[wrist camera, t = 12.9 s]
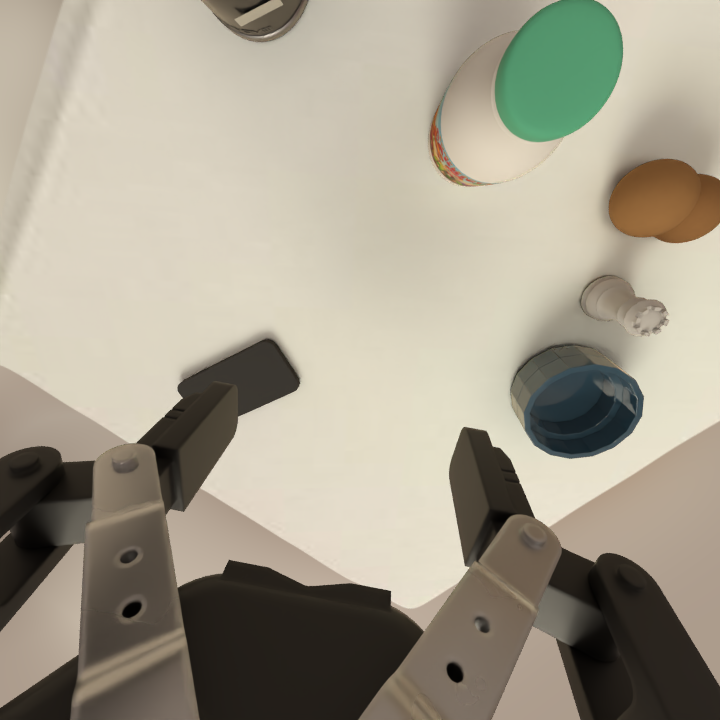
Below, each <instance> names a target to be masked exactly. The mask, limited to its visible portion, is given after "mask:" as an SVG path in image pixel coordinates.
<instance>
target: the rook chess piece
mask: <svg viewBox="0 0 720 720" xmlns="http://www.w3.org/2000/svg"><path fill="white" fill-rule="evenodd" d="M581 304H582V309H583V311H584V312H585V313H586V315H588V316H590V317H592V318H594V319H596V320H600V321H611V320H616V321H618V322H619V324H620V325H622V326H624V328H625V329H626V331H627V332H628V333H630V334H632V335H633V336H649V335H650V334H651V333H654V334H658V333H659V332H661V330H660V329H659V328H660V327H661V326H662V325H665V326H667V324H668V322H669V320H667V319H665V318H666V316H668V315H669V314H668V312H667V311H666V308H665V306H664V305H663V303H661V302H659V301H657V300H649V299H648V300H647V299H645V298H639V297H636V296H635V294H634V290H633V289H632V287H631V285H630V284H629V283H628V282H626V281H624V280H622V279H620V278H619V277H615V276H606V277H603V278H599V279H597V280H596V281H594V282H593V283H591V284H590V285H589V286H588V287H587V289H586V290H585V291H584V293H583V296H582V299H581Z"/></svg>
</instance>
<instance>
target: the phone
mask: <svg viewBox="0 0 720 720" xmlns="http://www.w3.org/2000/svg"><path fill="white" fill-rule="evenodd" d="M214 381H217V382H222V383H228V384H233V385H236V386H237V389H238V416H241V415H243V414H245V413H247V412H250V411H252V410H254V409H256V408H258V407H261V406H263V405H265V404H267V403H270V402H272V401H274V400H276V399H279V398H281V397H283V396H285V395H288V394H290V393H292V392H294V391H296V390H297V388H298V387H299V384H300V382H299V379H298V377H297V375H296V374H295V372H294V371H293V369H292V368H291V366H290V365H289V363H288V361H287V360H286V358H285V357H284V355H283V354H282V352H281V351H280V349H279V348H278V346H277V345H276V344H275V343H274V342H273V341H271V340H263V341H261V342H259V343H257V344H255V345H253V346H251V347H249V348H247V349H245V350H243V351H241V352H239V353H237V354H235V355H233V356H231V357H229V358H227V359H225V360H223V361H221V362H219V363H217V364H215V365H213V366H211V367H209V368H207V369H205V370H203V371H201V372H199V373H197V374H195V375H193V376H191V377H189V378H187V379H185V380H184V381H182V382H181V383H180V384H179V385H178V392H179V394H180V395H181V396H182V397H183V398H185V397H187V396H189V395H191V394H193V393H195V392H198V393H202V392H203V391H204V390H205V389H206V388H207V387H208V386H209V385H210V384H211V383H212V382H214Z"/></svg>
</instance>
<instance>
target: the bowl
mask: <svg viewBox="0 0 720 720" xmlns="http://www.w3.org/2000/svg"><path fill="white" fill-rule="evenodd" d="M643 400H644V396H643V394H642V392H641V390H640V388H639V386H638V384H637V382H636V380H635V379H634V378H632V377H631V376H630V375H629V374H627V373H626V372H625V371H624V370H622V369H621V368H620V367H619V366H617V365H616V364H615V363H613V362H612V361H611V360H610V359H608V358H607V357H605V356H604V355H602V354H601V353H599V352H598V351H597V350H595V349H593V348H588V347H582V346H577V345H569V346H563V347H557V348H552V349H549V350H547V351H545V352H543V353H541V354H539V355H538V356H536V357H534V358H532V359H530V361H529V362H528V363H527V364H526V365H525V366H524V367H523V368H522V369H521V370H520V371H519V372H518V373H517V375H516V378H515V380H514V383H513V385H512V388H511V401H512V408H513V409H514V411H515V413H516V415H517V417H518V419H519V421H520V423H521V425H522V426H523V428H524V430H525V432H526V433H527V435H528V437H529V438H530V440H531V441H532V443H533V444H534V445H535V446H536V447H538V448H540V449H541V450H543V451H545V452H546V453H548V454H550V455H553V456H559V457H564V458H569V459H570V458H571V459H572V458H581V457H590V456H594V455H597V454H599V453H602V452H604V451H607V450H609V449H612V448H614V447H615V446H616V445H618V444H619V443H620V442H621V441H623V440H624V439H625V438H626V437H628V436H629V435H630V434H631V433H632V432H633V430H634V429H635V427H636V425H637V424H638V422H639V420H640V419H641V417H642V412H643Z"/></svg>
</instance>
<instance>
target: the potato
mask: <svg viewBox="0 0 720 720" xmlns="http://www.w3.org/2000/svg"><path fill="white" fill-rule="evenodd" d="M609 216H610V219H611V221H612V223H613V224H614V225H615V227H616V228H617V229H618V230H620V231H621V232H623V233H625V234H627V235H630V236H634V237H651V236H654V237H655V238H657V239H659V240H661V241H664V242H669V243H683V242H688V241H692V240H695V239H698V238H700V237H702V236H704V235H706V234H707V233H709V232H710V231H712V230H713V229H714V228H715V227H716V226H717V225H718V224H719V223H720V180H719V179H717V178H715V177H713V176H709V175H704V174H697V173H696V171H695V170H694V169H693V168H692V167H691V166H689V165H688V164H686V163H684V162H682V161H678V160H674V159H659V160H654V161H650V162H647V163H645V164H642V165H640V166H638V167H637V168H635V169H633V170H632V171H630V172H629V173H628V174H627V175H625V176H624V177H623V178H622V179H621V180H620V182H619V183H618V184H617V185H616V187H615V189H614V190H613V193H612V195H611V197H610V201H609Z"/></svg>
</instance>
